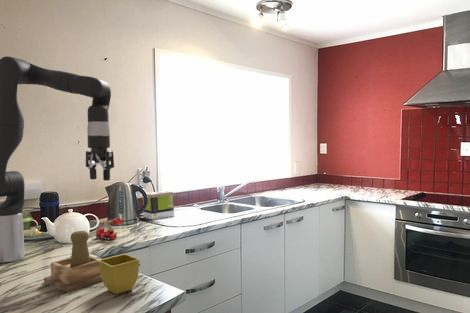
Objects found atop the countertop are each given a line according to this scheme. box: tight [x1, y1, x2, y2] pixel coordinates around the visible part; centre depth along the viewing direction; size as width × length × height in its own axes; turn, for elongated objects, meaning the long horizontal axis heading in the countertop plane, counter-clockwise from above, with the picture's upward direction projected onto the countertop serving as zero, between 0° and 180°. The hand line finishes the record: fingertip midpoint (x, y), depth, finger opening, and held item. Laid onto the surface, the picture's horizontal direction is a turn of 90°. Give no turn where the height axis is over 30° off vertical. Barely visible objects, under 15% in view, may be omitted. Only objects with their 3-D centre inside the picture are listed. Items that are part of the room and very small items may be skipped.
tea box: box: [142, 190, 175, 220], centre depth 217 cm, size 15×10×15 cm
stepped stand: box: [43, 255, 103, 294], centre depth 116 cm, size 14×14×6 cm
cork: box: [70, 230, 91, 268], centre depth 115 cm, size 6×6×11 cm
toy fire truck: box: [95, 217, 123, 241], centre depth 167 cm, size 3×14×10 cm, turn 65°
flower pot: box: [98, 253, 140, 295], centre depth 107 cm, size 9×9×9 cm
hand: (99, 179), depth 133 cm, fingers open, 8 cm apart
